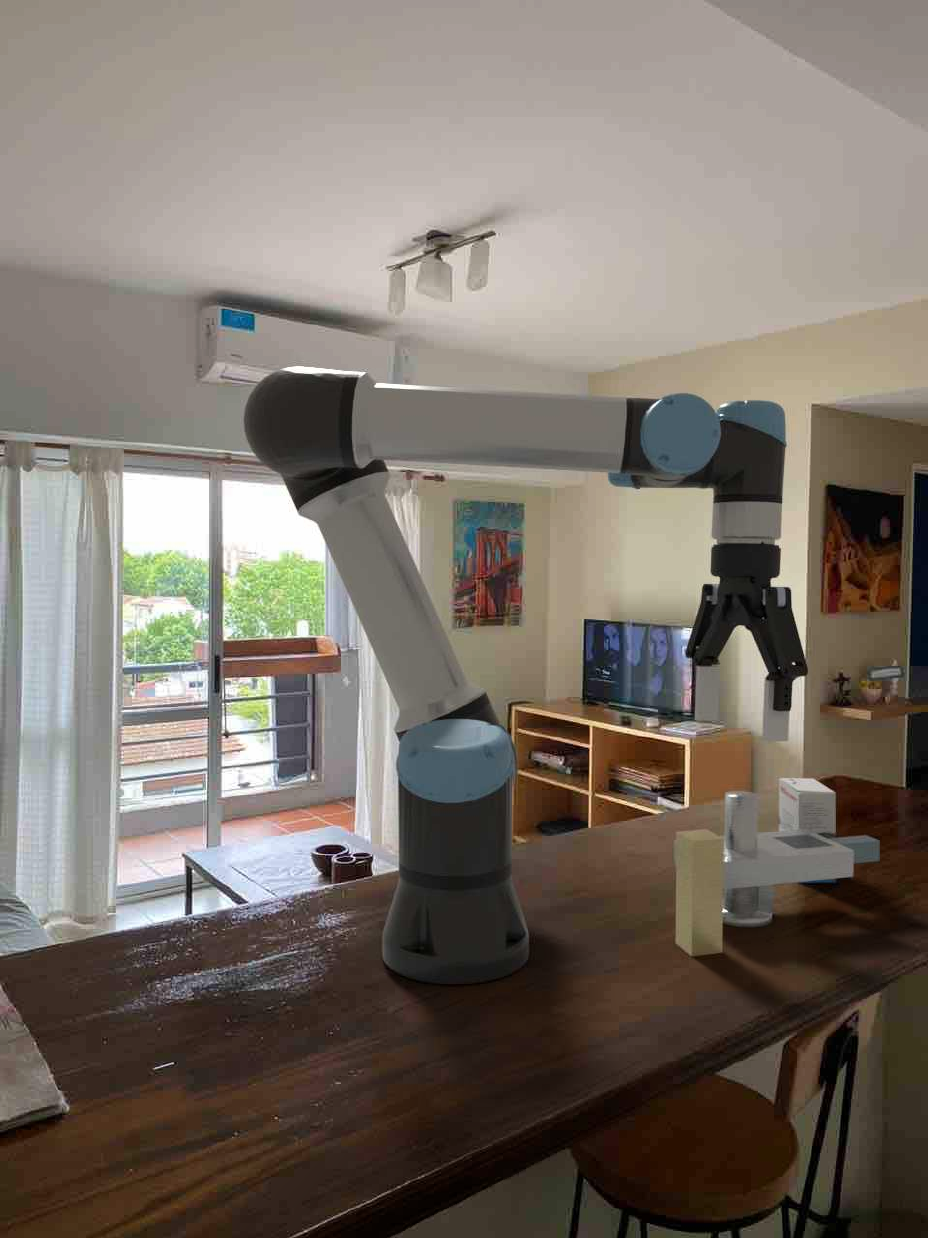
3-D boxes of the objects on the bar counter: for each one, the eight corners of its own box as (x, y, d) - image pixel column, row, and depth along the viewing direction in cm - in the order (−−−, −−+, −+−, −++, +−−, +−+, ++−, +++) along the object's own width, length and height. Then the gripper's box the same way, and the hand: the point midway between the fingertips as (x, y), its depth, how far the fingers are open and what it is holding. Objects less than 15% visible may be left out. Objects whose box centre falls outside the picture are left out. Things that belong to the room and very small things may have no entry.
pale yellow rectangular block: (691, 956, 96) (692, 841, 96) (675, 943, 100) (676, 831, 99) (722, 952, 97) (723, 838, 96) (705, 940, 100) (706, 829, 100)
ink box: (837, 884, 118) (839, 792, 117) (797, 884, 118) (799, 791, 117) (813, 863, 127) (814, 776, 126) (776, 862, 127) (777, 776, 126)
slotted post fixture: (712, 936, 101) (713, 808, 101) (673, 907, 110) (674, 789, 109) (897, 915, 107) (900, 794, 107) (847, 889, 116) (849, 777, 115)
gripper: (850, 541, 95) (840, 749, 96) (714, 545, 118) (708, 712, 120) (786, 539, 92) (777, 752, 94) (661, 543, 116) (655, 713, 117)
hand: (738, 730), depth 107 cm, fingers open, 13 cm apart
